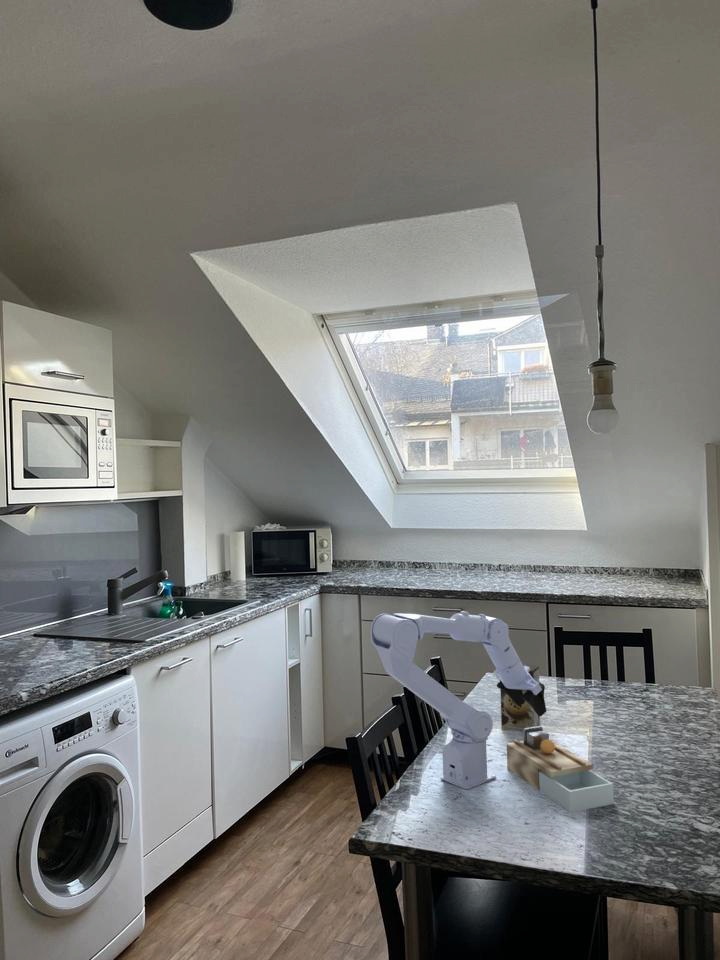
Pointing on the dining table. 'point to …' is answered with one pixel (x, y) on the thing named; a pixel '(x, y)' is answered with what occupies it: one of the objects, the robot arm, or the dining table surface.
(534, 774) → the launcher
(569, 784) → the open box
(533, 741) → the brushed steel stepped cube
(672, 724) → the dining table surface
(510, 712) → the coffee box
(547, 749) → the ball
